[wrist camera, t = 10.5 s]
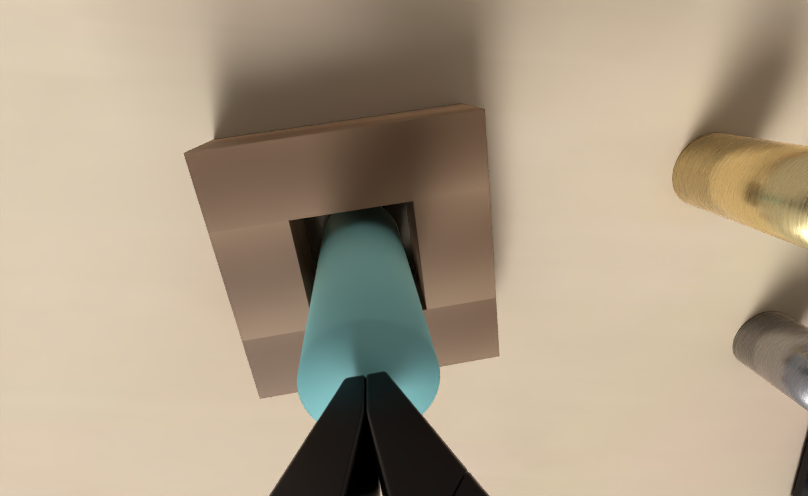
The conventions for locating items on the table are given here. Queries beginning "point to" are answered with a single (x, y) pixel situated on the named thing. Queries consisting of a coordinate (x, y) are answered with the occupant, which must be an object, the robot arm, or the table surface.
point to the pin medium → (748, 183)
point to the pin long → (365, 314)
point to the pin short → (776, 352)
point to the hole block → (340, 192)
